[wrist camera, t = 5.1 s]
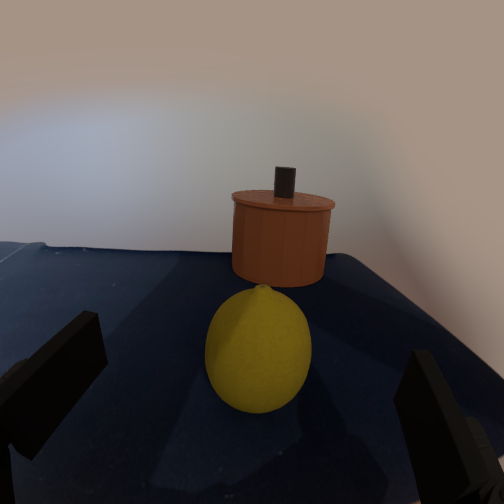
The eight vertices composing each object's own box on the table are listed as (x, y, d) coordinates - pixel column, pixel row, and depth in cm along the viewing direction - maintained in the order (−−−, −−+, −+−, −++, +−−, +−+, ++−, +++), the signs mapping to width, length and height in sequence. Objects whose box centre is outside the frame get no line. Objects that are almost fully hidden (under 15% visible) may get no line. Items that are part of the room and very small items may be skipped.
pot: (307, 254, 46) (313, 196, 43) (336, 286, 35) (347, 212, 33) (228, 253, 44) (231, 192, 42) (236, 288, 34) (240, 208, 31)
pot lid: (314, 200, 44) (317, 168, 43) (351, 219, 32) (356, 176, 31) (227, 196, 42) (229, 162, 41) (236, 215, 31) (238, 167, 29)
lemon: (216, 373, 20) (217, 261, 18) (299, 381, 20) (317, 270, 17) (197, 432, 15) (188, 306, 12) (299, 444, 14) (328, 320, 12)
